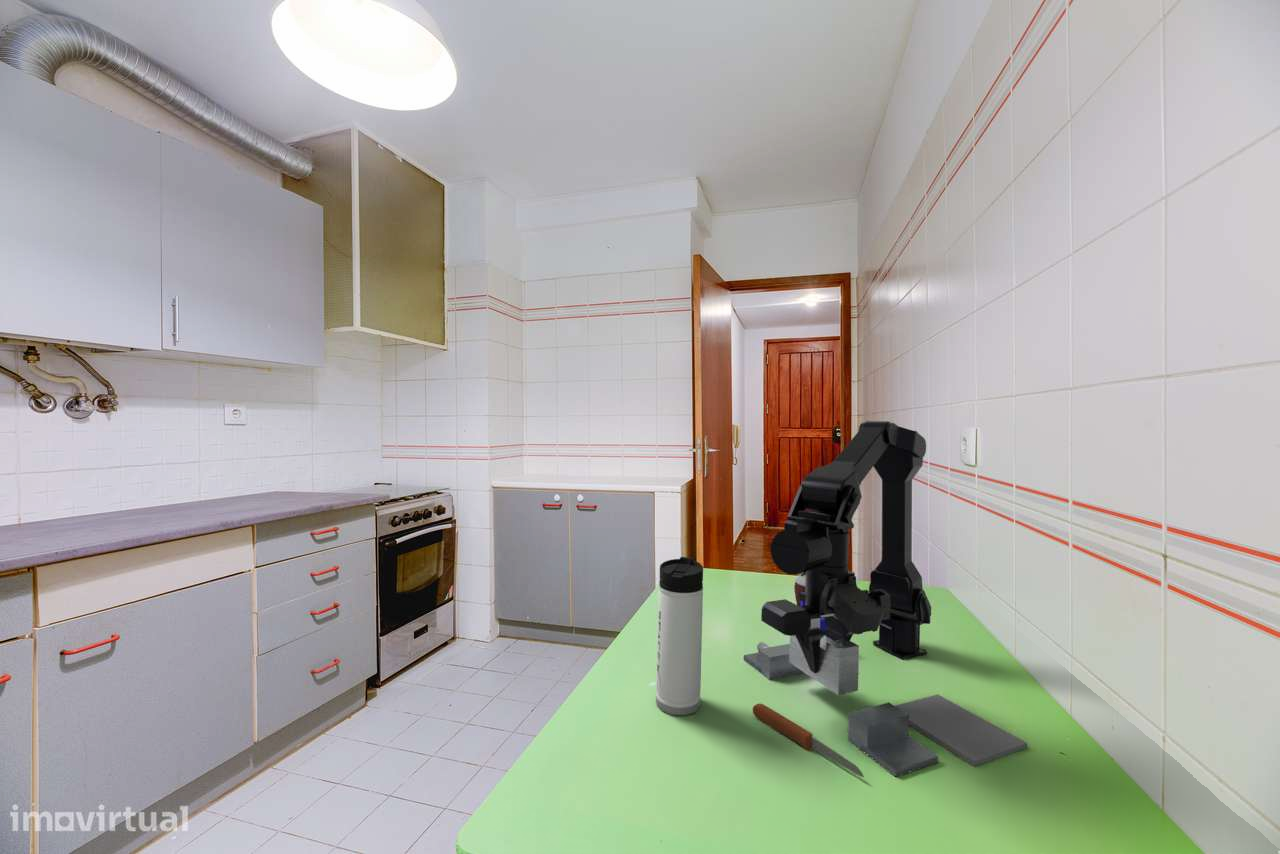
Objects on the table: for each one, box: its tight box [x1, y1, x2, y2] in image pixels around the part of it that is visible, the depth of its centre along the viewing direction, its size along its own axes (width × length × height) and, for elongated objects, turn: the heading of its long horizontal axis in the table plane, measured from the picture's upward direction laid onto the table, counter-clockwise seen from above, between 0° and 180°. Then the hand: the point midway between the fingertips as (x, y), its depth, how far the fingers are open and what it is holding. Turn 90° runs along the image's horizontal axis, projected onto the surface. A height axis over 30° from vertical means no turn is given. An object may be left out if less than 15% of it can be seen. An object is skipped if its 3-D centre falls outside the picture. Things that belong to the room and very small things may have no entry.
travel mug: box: [655, 556, 704, 716], centre depth 70 cm, size 6×7×20 cm
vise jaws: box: [743, 641, 939, 777], centre depth 71 cm, size 7×30×4 cm, turn 22°
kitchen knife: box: [752, 702, 865, 778], centre depth 61 cm, size 16×1×2 cm, turn 36°
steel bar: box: [789, 635, 860, 696], centre depth 72 cm, size 4×10×6 cm, turn 23°
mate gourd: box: [793, 573, 806, 606], centre depth 106 cm, size 8×8×15 cm
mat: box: [894, 694, 1028, 767], centre depth 66 cm, size 10×12×1 cm
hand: (824, 669), depth 71 cm, fingers closed on steel bar, 3 cm apart
